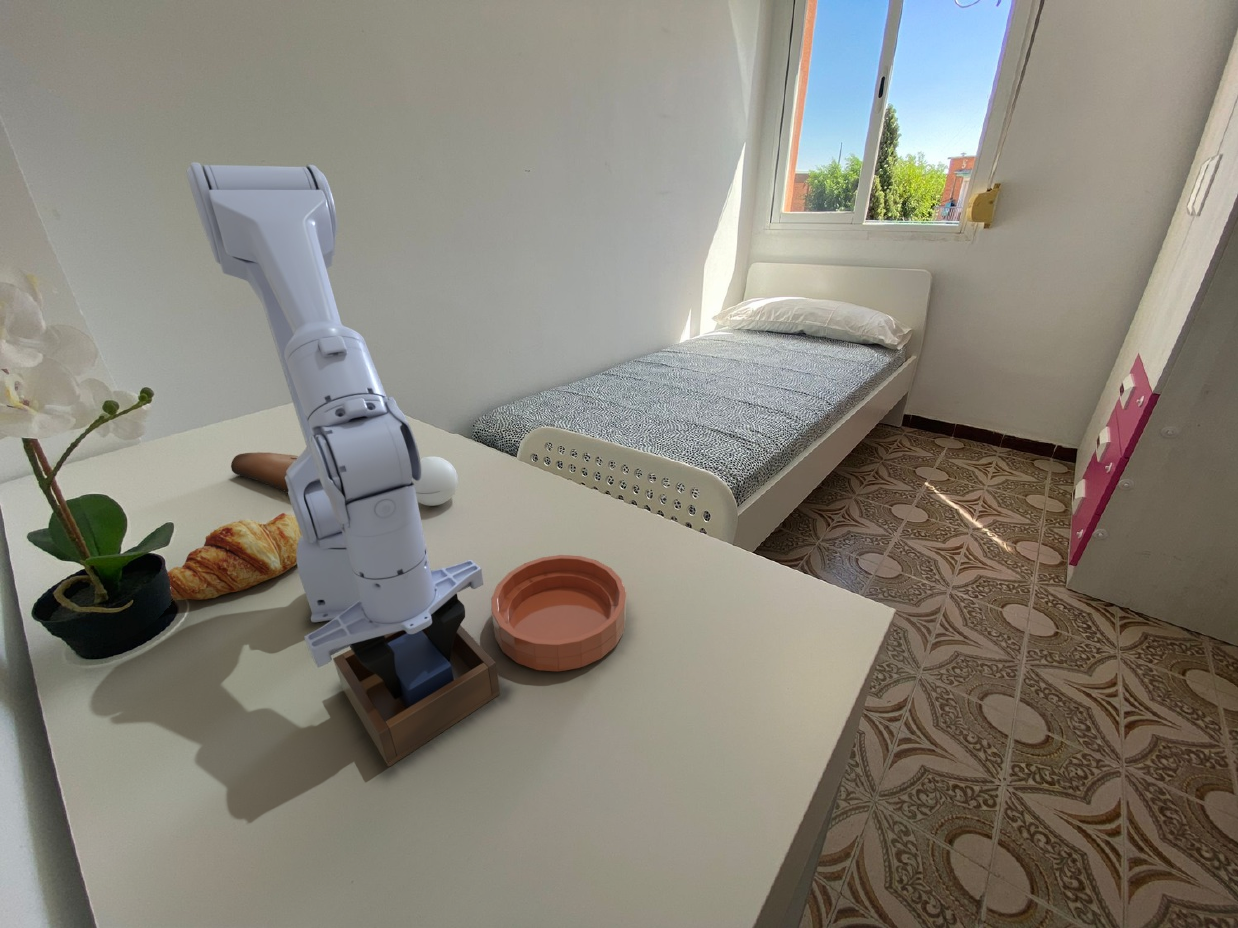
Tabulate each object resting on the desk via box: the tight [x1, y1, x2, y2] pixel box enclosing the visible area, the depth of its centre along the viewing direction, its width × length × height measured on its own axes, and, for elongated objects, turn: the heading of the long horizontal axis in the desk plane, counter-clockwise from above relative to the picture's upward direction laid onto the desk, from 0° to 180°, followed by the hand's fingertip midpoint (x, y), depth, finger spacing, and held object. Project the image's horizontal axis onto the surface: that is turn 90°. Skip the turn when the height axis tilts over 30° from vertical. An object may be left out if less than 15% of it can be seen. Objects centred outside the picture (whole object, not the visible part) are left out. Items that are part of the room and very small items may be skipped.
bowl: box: [490, 554, 627, 672], centre depth 58 cm, size 14×14×4 cm
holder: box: [332, 624, 501, 768], centre depth 50 cm, size 11×11×4 cm
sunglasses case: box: [230, 451, 319, 493], centre depth 88 cm, size 18×7×7 cm, turn 62°
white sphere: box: [412, 456, 459, 507], centre depth 80 cm, size 10×7×7 cm
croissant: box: [166, 512, 302, 601], centre depth 67 cm, size 21×10×8 cm, turn 141°
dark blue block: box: [388, 630, 454, 709], centre depth 50 cm, size 4×6×4 cm, turn 43°
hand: (418, 677), depth 50 cm, fingers closed on dark blue block, 4 cm apart
